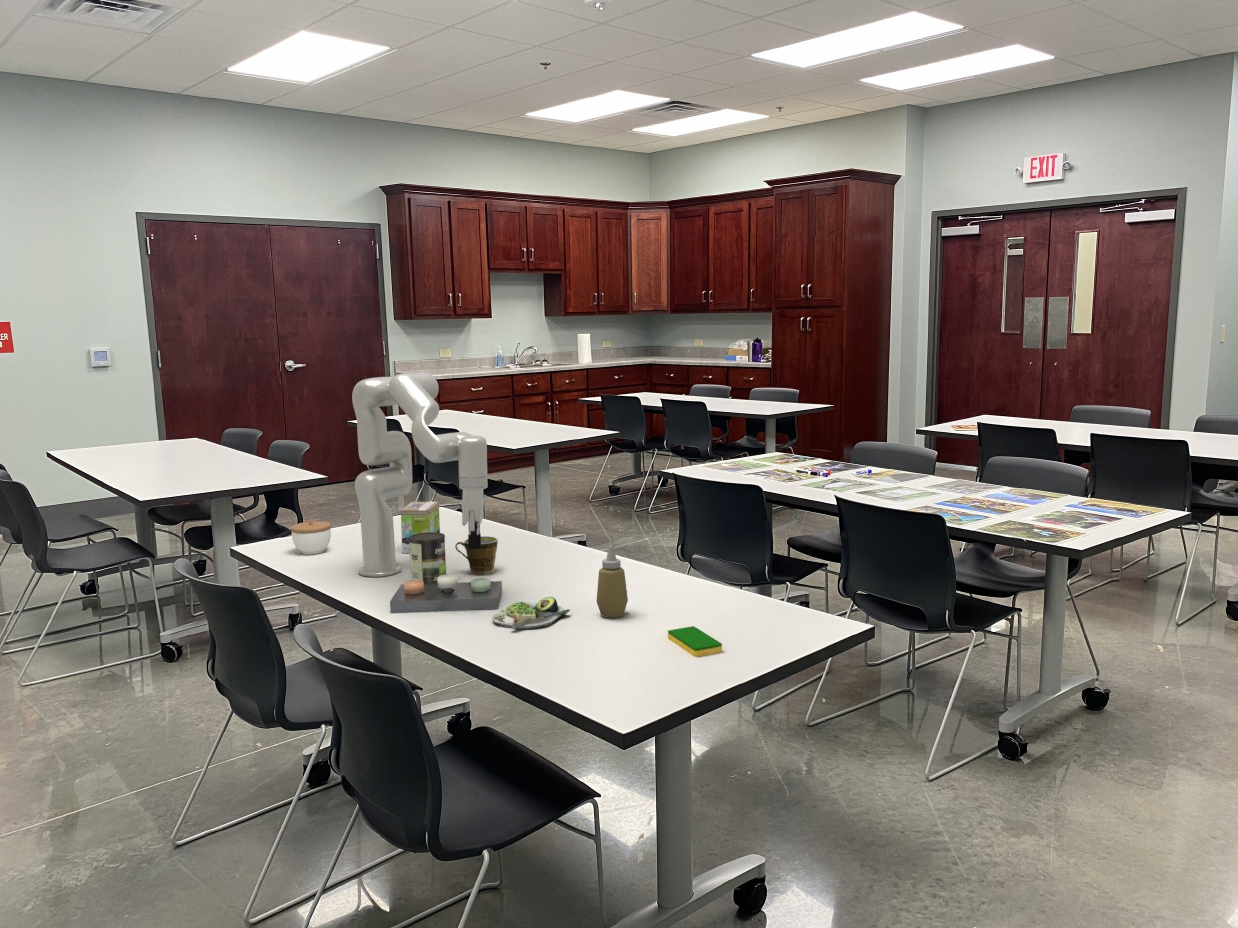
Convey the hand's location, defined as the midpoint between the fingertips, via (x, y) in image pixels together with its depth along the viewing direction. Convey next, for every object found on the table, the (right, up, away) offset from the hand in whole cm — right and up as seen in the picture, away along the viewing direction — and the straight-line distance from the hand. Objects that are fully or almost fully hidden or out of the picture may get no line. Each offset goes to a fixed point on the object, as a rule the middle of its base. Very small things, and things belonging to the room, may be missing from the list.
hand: (474, 548), depth 252 cm
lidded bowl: (-63, -7, +58) cm, 86 cm away
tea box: (-27, -6, +60) cm, 66 cm away
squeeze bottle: (+38, -16, -14) cm, 43 cm away
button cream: (-7, -13, 0) cm, 15 cm away
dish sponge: (+57, -20, -37) cm, 70 cm away
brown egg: (-16, -15, 0) cm, 22 cm away
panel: (-7, -15, 0) cm, 16 cm away
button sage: (+2, -14, 0) cm, 14 cm away
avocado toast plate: (+17, -17, -15) cm, 28 cm away
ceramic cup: (-4, -10, +29) cm, 31 cm away
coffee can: (-16, -12, +18) cm, 27 cm away
